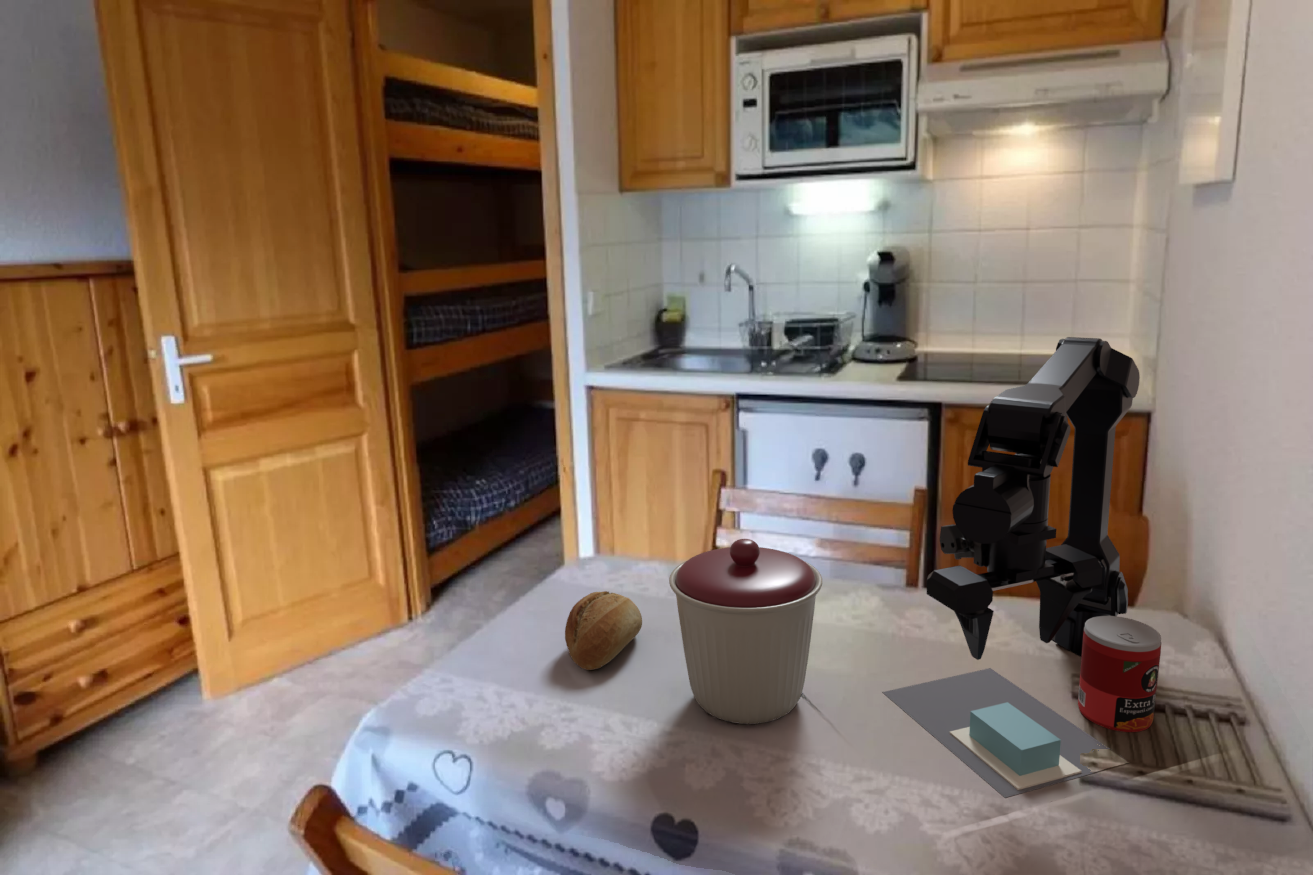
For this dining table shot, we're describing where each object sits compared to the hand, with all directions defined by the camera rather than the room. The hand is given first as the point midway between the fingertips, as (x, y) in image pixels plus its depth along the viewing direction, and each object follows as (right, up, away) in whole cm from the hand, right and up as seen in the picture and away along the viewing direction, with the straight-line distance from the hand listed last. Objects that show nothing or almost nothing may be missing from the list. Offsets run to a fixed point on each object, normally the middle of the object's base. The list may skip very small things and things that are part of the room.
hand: (1010, 649), depth 95 cm
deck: (0, -11, -1) cm, 11 cm away
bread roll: (-46, -7, +26) cm, 54 cm away
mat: (0, -10, +4) cm, 11 cm away
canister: (-28, -9, +12) cm, 32 cm away
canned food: (+14, -9, +6) cm, 18 cm away
